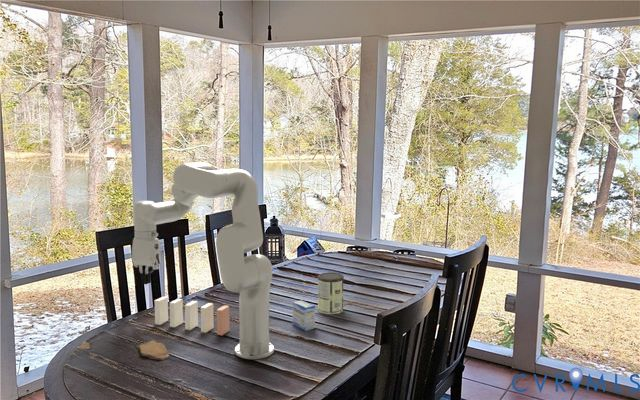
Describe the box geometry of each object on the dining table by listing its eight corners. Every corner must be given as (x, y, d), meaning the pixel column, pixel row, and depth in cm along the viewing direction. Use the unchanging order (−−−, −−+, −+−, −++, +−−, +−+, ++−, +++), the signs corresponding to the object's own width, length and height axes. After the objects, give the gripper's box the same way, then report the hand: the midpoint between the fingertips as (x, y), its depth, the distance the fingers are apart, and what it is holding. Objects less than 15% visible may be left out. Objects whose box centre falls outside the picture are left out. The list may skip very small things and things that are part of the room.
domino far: (168, 320, 191) (167, 297, 190) (159, 325, 186) (159, 301, 185) (163, 319, 192) (163, 296, 191) (155, 324, 187) (154, 300, 186)
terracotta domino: (229, 330, 182) (229, 305, 181) (222, 335, 177) (221, 310, 176) (224, 329, 183) (224, 305, 182) (217, 334, 178) (216, 309, 177)
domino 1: (183, 322, 189) (182, 299, 188) (174, 327, 184) (174, 303, 183) (178, 322, 189) (177, 298, 188) (170, 326, 185) (169, 302, 184)
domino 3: (213, 327, 184) (213, 303, 183) (205, 332, 180) (205, 308, 179) (208, 326, 185) (208, 302, 184) (201, 331, 180) (200, 307, 179)
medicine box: (292, 324, 188) (292, 302, 187) (301, 322, 191) (301, 299, 190) (305, 331, 182) (305, 307, 181) (315, 328, 185) (315, 305, 184)
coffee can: (325, 304, 211) (325, 270, 210) (347, 308, 206) (348, 274, 204) (312, 311, 203) (312, 276, 201) (335, 316, 197) (335, 280, 196)
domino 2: (198, 325, 187) (197, 301, 185) (190, 330, 182) (189, 305, 181) (193, 324, 187) (193, 300, 186) (185, 329, 183) (184, 304, 181)
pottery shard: (177, 359, 162) (152, 342, 172) (177, 352, 161) (152, 335, 171) (153, 368, 156) (129, 350, 166) (153, 360, 155) (129, 342, 165)
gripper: (169, 234, 188) (169, 283, 190) (135, 230, 193) (136, 278, 196) (155, 238, 181) (156, 288, 184) (121, 234, 186) (122, 283, 189)
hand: (146, 283), depth 190 cm, fingers closed
